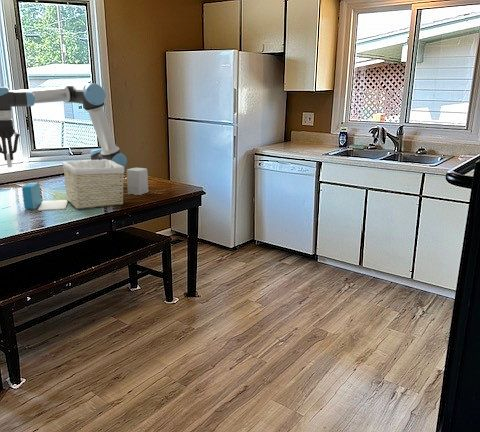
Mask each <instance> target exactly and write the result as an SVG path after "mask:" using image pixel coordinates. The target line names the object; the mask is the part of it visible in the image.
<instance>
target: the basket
mask: <svg viewBox="0 0 480 432" xmlns="http://www.w3.org/2000/svg"><path fill="white" fill-rule="evenodd" d="M62 167H63V173H64V182H65V183H64V186H65V195H66V197H65V200H68V202H69V203H70V204H72V206H73V207H75V208H76V209H86V208H91V209H92V208H96V207H107V206H108V207H110V206H116V205H118V206H119V205H123V204H124V173H125V168H124V167H123V166H121V165H119V164H117V163H115V162H114V161H111V160H107V159H102V160H91V159H88V160H76V161H74V160H73V161H62Z"/></svg>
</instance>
